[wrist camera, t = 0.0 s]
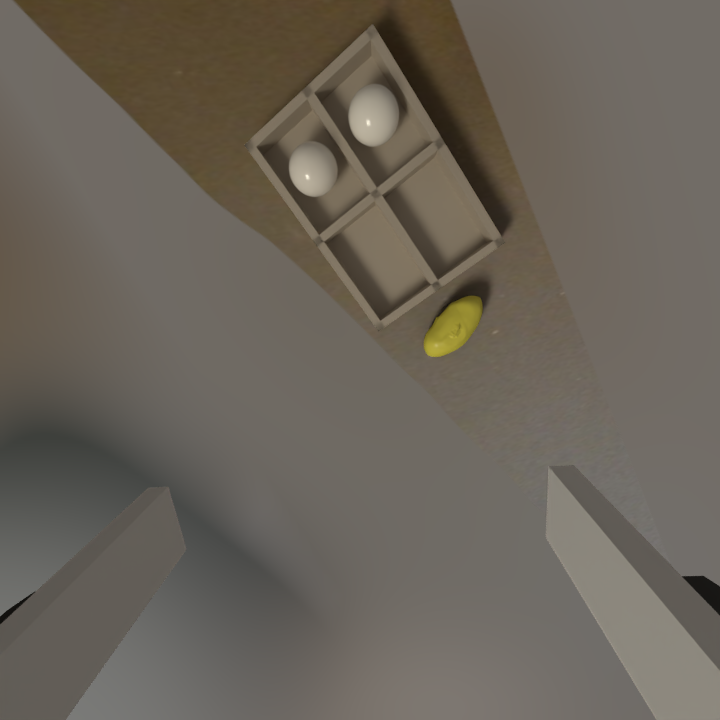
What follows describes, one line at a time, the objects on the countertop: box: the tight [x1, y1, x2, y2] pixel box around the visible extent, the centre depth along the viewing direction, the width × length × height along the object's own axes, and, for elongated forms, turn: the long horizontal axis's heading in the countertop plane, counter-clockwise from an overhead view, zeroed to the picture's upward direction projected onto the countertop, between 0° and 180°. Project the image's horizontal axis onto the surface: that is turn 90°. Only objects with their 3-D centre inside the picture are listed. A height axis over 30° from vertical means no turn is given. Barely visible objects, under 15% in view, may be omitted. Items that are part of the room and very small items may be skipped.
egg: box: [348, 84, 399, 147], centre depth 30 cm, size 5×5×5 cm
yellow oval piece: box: [424, 296, 483, 357], centre depth 36 cm, size 4×8×4 cm, turn 137°
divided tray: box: [245, 24, 505, 331], centre depth 33 cm, size 22×15×3 cm
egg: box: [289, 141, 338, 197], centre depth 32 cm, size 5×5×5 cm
